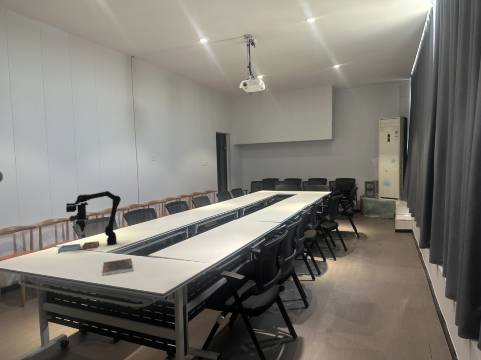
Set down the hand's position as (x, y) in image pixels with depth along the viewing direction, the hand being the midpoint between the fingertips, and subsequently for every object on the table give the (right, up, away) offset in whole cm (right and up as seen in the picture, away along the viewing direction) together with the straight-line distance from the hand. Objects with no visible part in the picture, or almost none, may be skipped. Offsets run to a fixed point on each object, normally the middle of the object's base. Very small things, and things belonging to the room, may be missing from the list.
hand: (82, 231), depth 241 cm
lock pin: (0, -4, 0) cm, 4 cm away
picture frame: (+46, -15, -49) cm, 69 cm away
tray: (-9, -14, -2) cm, 17 cm away
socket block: (+5, -13, +2) cm, 14 cm away
